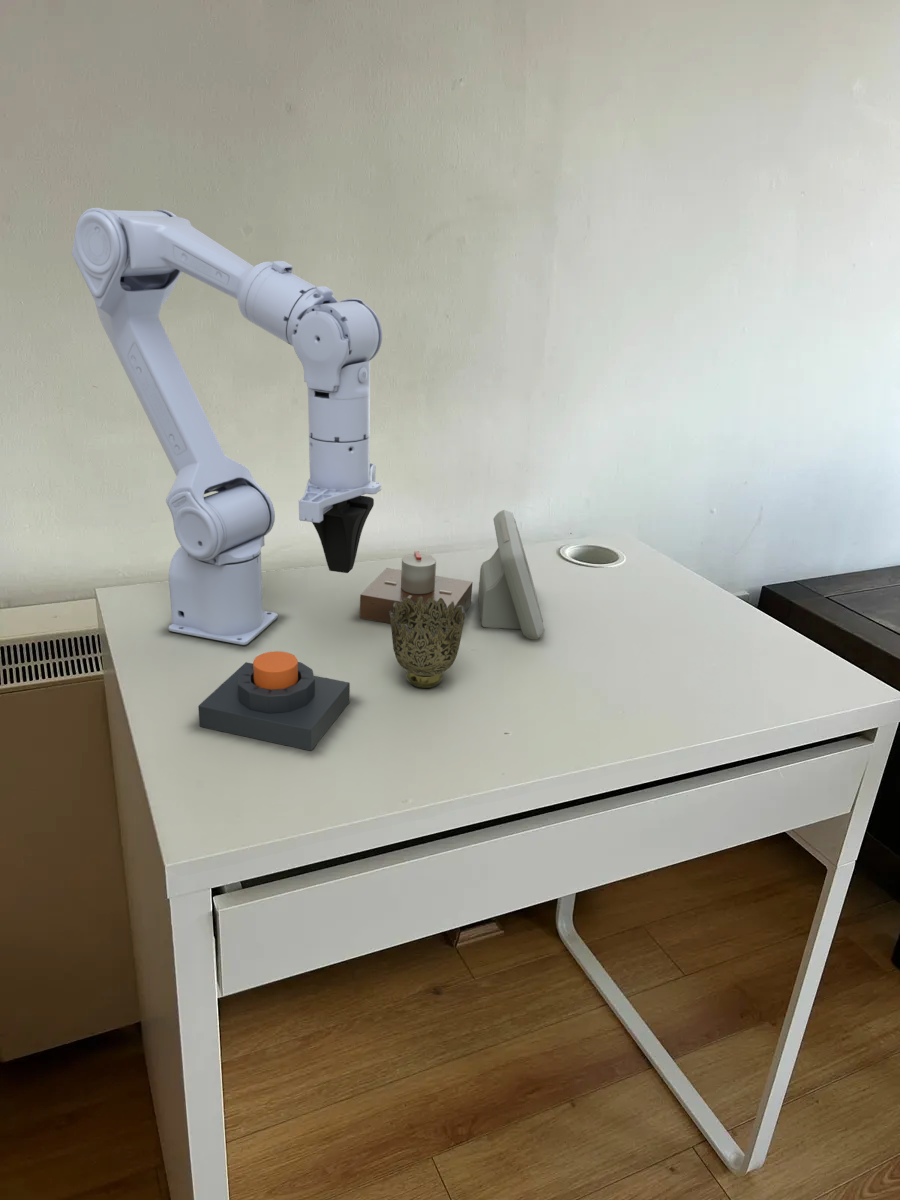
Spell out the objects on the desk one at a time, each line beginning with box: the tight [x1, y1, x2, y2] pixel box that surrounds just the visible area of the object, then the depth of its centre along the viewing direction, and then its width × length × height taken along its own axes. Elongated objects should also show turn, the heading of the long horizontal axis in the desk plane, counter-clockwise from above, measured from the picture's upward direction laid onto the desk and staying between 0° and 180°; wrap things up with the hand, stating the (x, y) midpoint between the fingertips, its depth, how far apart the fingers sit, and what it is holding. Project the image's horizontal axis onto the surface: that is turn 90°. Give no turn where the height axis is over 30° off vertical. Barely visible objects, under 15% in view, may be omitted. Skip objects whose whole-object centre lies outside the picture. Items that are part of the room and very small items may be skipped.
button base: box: [198, 661, 351, 752], centre depth 84 cm, size 11×9×4 cm
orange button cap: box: [252, 650, 299, 690], centre depth 82 cm, size 4×4×2 cm
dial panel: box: [359, 567, 473, 625], centre depth 106 cm, size 11×9×3 cm
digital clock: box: [477, 509, 545, 640], centre depth 106 cm, size 16×9×11 cm, turn 169°
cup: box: [390, 596, 466, 689], centre depth 90 cm, size 8×7×8 cm
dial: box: [400, 550, 437, 594], centre depth 105 cm, size 4×4×4 cm
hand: (340, 569), depth 90 cm, fingers closed
